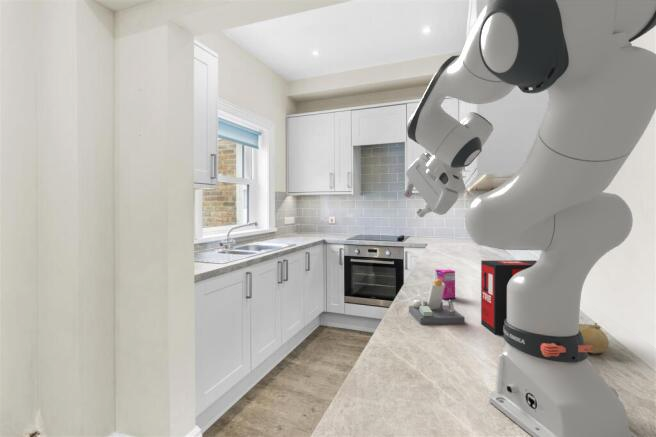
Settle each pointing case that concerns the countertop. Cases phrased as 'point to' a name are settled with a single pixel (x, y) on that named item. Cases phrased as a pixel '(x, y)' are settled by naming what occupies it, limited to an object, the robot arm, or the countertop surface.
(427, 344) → the countertop surface
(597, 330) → the onion
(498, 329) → the cleaning product box
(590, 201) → the robot arm
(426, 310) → the rocker
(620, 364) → the countertop surface
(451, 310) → the toggle
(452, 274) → the supplement box
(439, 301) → the lever
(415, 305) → the button
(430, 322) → the panel
